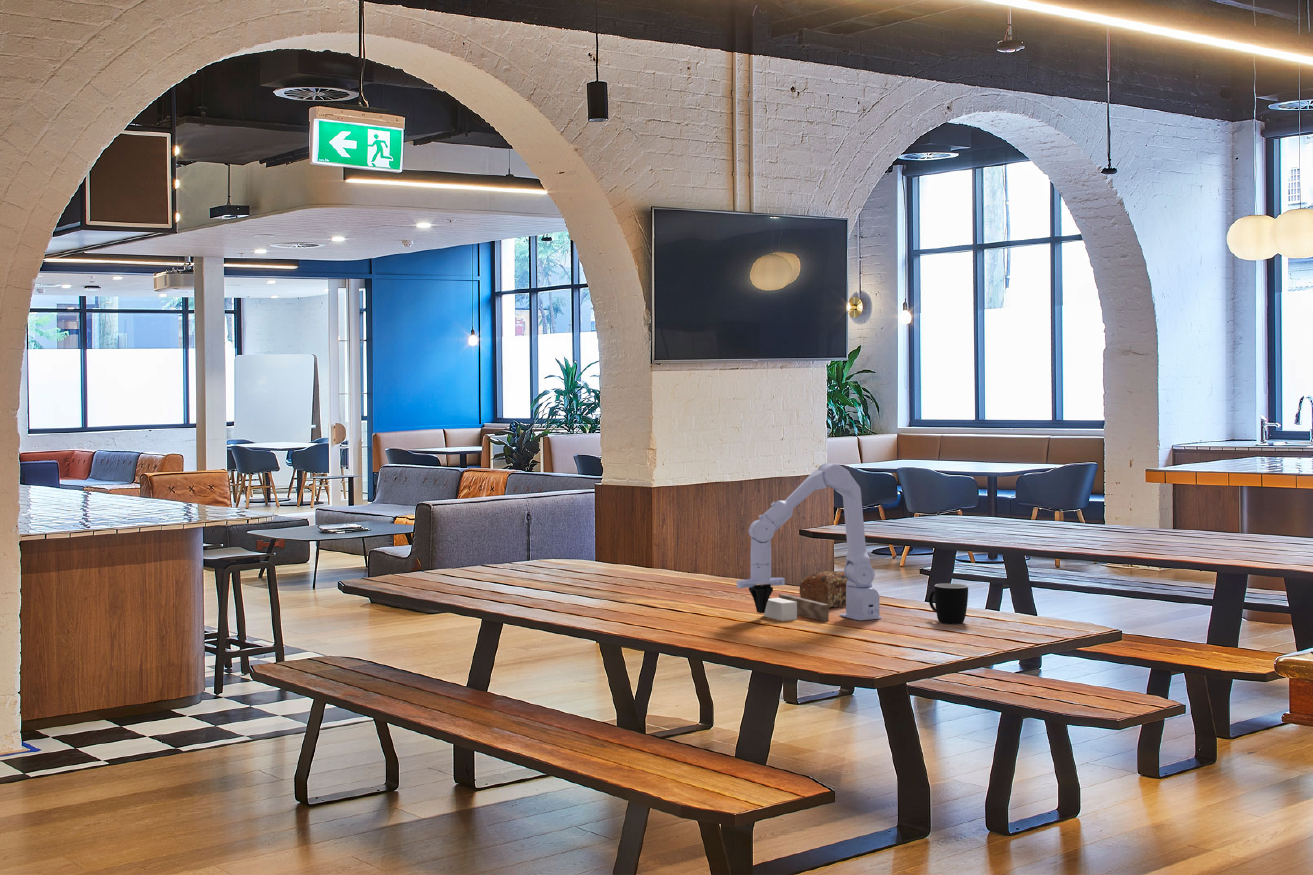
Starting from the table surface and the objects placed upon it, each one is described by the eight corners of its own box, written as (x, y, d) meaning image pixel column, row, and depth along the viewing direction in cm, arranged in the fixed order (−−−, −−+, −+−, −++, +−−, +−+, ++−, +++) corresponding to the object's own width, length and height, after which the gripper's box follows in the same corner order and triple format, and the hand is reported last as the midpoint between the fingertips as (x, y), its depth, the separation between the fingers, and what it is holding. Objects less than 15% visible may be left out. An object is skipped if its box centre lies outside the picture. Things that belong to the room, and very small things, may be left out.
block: (796, 619, 355) (796, 601, 355) (781, 621, 352) (782, 603, 352) (778, 615, 363) (778, 597, 363) (763, 616, 360) (763, 599, 360)
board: (828, 620, 352) (828, 604, 352) (822, 621, 351) (822, 604, 351) (784, 609, 372) (784, 593, 372) (778, 609, 371) (778, 594, 371)
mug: (974, 623, 349) (975, 586, 349) (953, 626, 343) (953, 588, 343) (940, 617, 358) (940, 581, 358) (918, 620, 353) (919, 583, 353)
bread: (828, 610, 371) (828, 576, 371) (797, 606, 378) (797, 572, 378) (861, 602, 386) (861, 569, 386) (830, 599, 393) (830, 566, 392)
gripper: (775, 560, 361) (775, 608, 361) (730, 563, 354) (730, 612, 355) (789, 563, 355) (788, 612, 355) (744, 566, 348) (744, 616, 348)
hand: (760, 612), depth 355 cm, fingers closed
